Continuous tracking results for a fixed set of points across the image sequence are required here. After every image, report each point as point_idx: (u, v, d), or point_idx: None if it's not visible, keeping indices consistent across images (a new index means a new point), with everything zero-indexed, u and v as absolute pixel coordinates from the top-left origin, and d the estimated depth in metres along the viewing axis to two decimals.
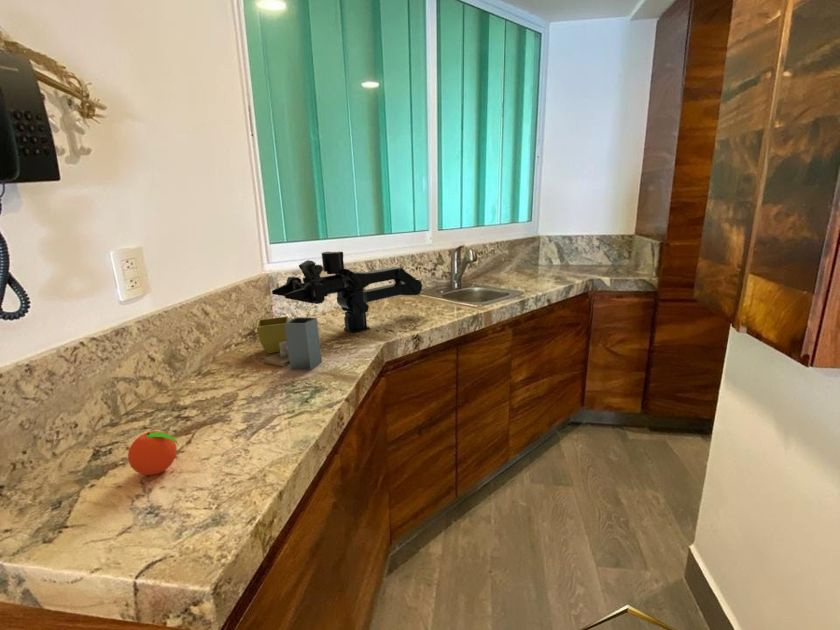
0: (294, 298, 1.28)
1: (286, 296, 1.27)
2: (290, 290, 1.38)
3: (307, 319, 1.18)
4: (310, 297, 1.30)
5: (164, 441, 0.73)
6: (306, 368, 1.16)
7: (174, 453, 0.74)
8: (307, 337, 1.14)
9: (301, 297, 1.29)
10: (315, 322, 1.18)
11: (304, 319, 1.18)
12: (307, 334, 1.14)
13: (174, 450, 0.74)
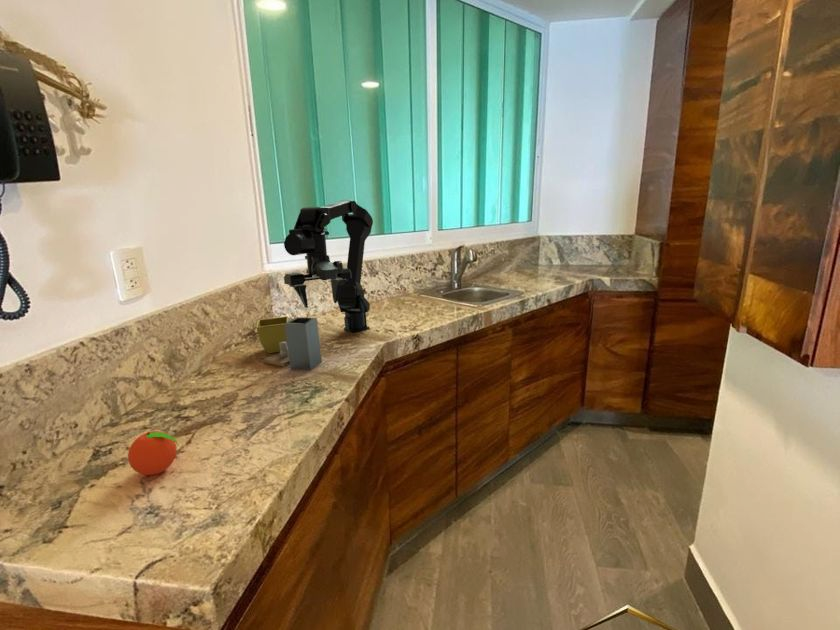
0: None
1: None
2: None
3: (307, 319, 1.18)
4: None
5: (164, 441, 0.73)
6: (306, 368, 1.16)
7: (174, 453, 0.74)
8: (307, 337, 1.14)
9: None
10: (315, 322, 1.18)
11: (304, 319, 1.18)
12: (307, 334, 1.14)
13: (174, 450, 0.74)
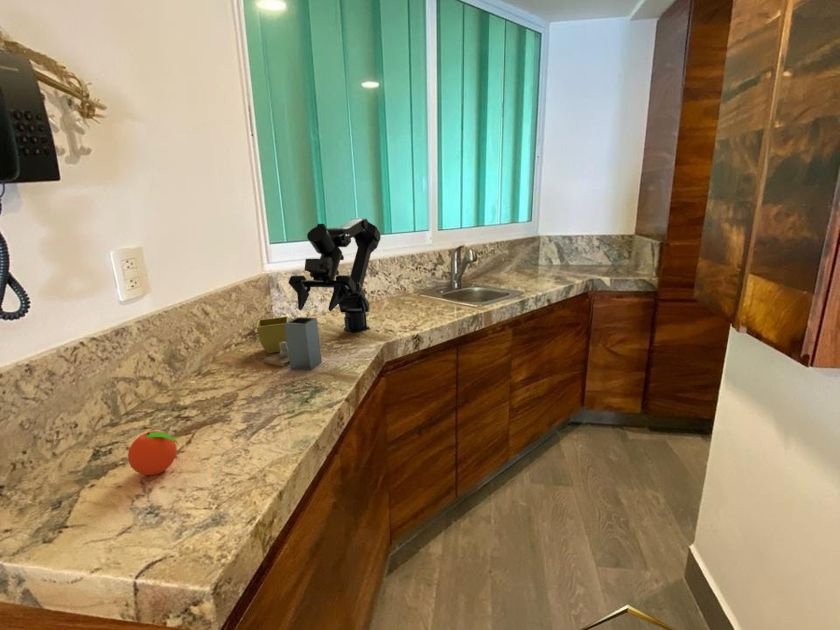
0: (336, 304, 1.23)
1: (330, 309, 1.22)
2: (305, 292, 1.27)
3: (307, 319, 1.18)
4: (345, 292, 1.25)
5: (164, 441, 0.73)
6: (306, 368, 1.16)
7: (174, 453, 0.74)
8: (307, 337, 1.14)
9: (339, 298, 1.24)
10: (315, 322, 1.18)
11: (304, 319, 1.18)
12: (307, 334, 1.14)
13: (174, 450, 0.74)
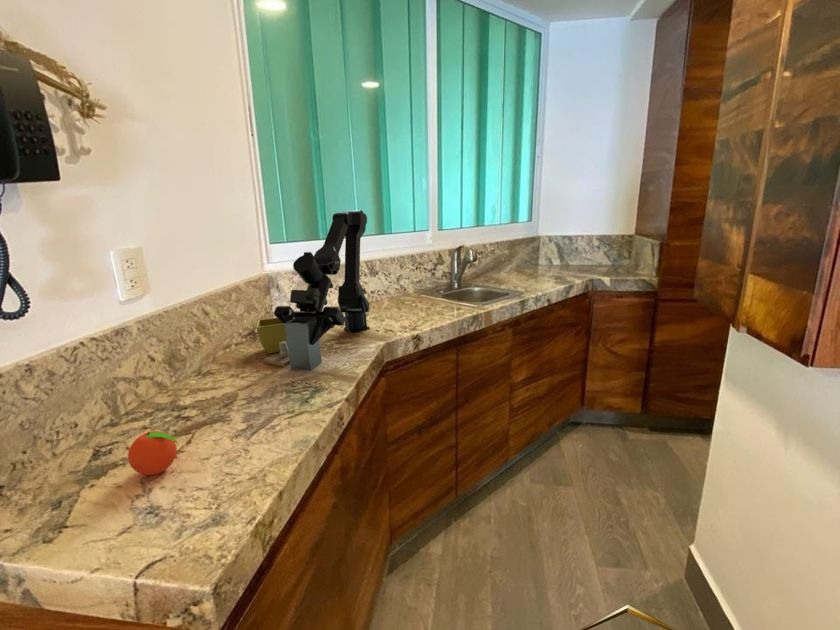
0: (318, 337, 1.17)
1: (313, 343, 1.16)
2: None
3: (307, 319, 1.18)
4: (329, 324, 1.19)
5: (164, 441, 0.73)
6: (306, 368, 1.16)
7: (174, 453, 0.74)
8: (307, 337, 1.14)
9: (322, 331, 1.18)
10: (315, 322, 1.17)
11: (304, 319, 1.18)
12: (307, 334, 1.14)
13: (174, 450, 0.74)
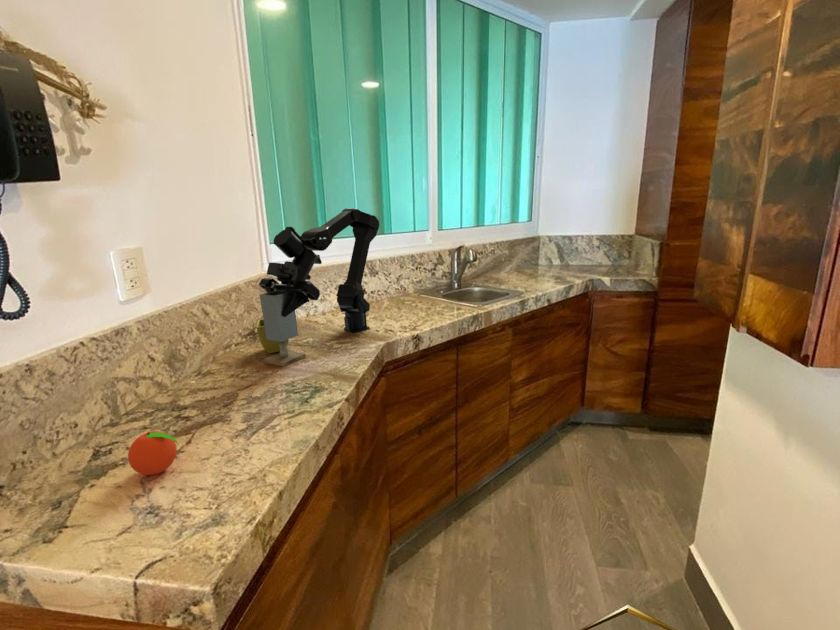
0: (291, 310, 1.20)
1: (284, 315, 1.19)
2: None
3: (284, 292, 1.21)
4: (303, 298, 1.21)
5: (164, 441, 0.73)
6: (278, 339, 1.20)
7: (174, 453, 0.74)
8: (278, 309, 1.17)
9: (296, 304, 1.20)
10: None
11: (282, 292, 1.22)
12: (278, 306, 1.17)
13: (174, 450, 0.74)
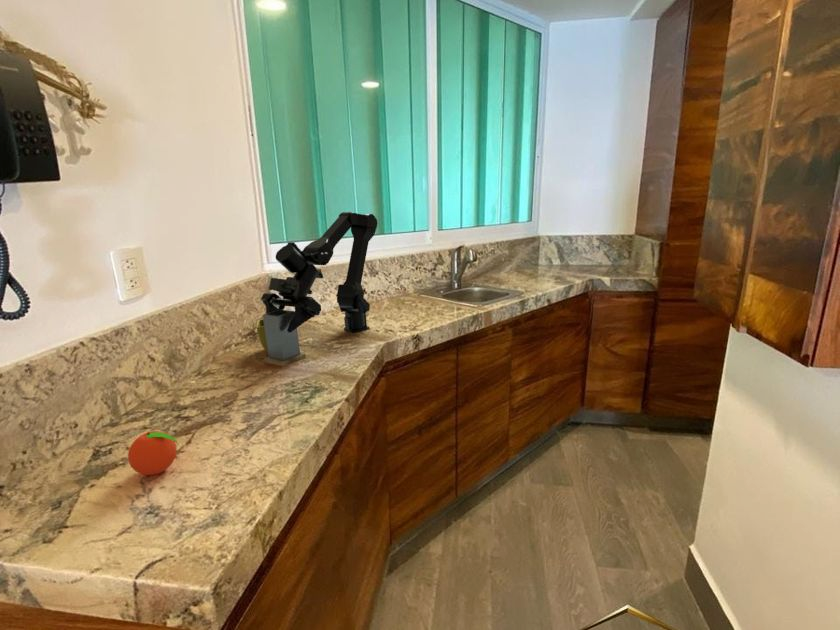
0: (297, 326, 1.20)
1: (290, 331, 1.19)
2: (275, 310, 1.27)
3: (286, 312, 1.23)
4: (308, 314, 1.21)
5: (164, 441, 0.73)
6: (280, 359, 1.21)
7: (174, 453, 0.74)
8: (280, 329, 1.19)
9: (301, 320, 1.21)
10: (292, 315, 1.22)
11: (284, 312, 1.23)
12: (280, 326, 1.19)
13: (174, 450, 0.74)
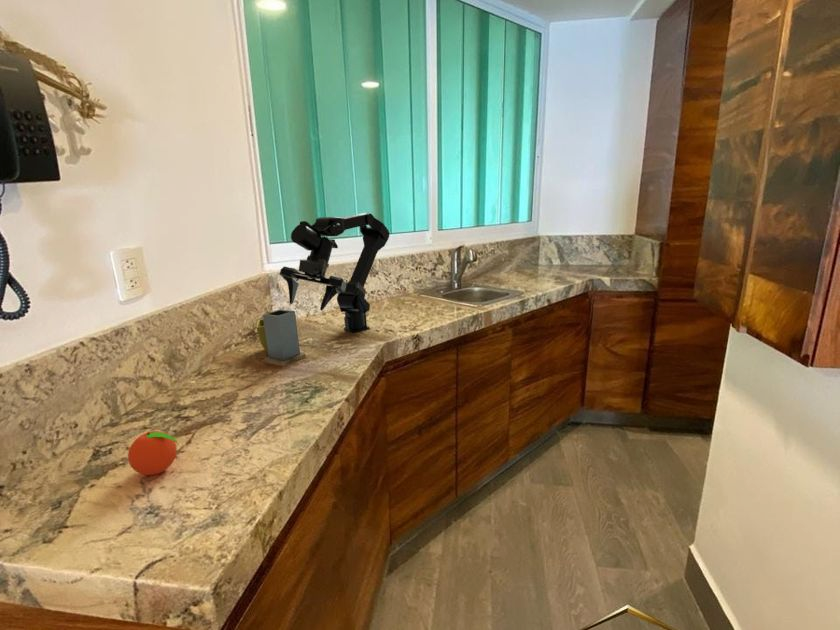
0: (326, 303, 1.30)
1: (322, 309, 1.29)
2: (295, 284, 1.31)
3: (286, 312, 1.23)
4: (336, 291, 1.31)
5: (164, 441, 0.73)
6: (280, 359, 1.21)
7: (174, 453, 0.74)
8: (280, 329, 1.19)
9: (329, 297, 1.31)
10: (292, 315, 1.22)
11: (284, 312, 1.23)
12: (280, 326, 1.19)
13: (174, 450, 0.74)
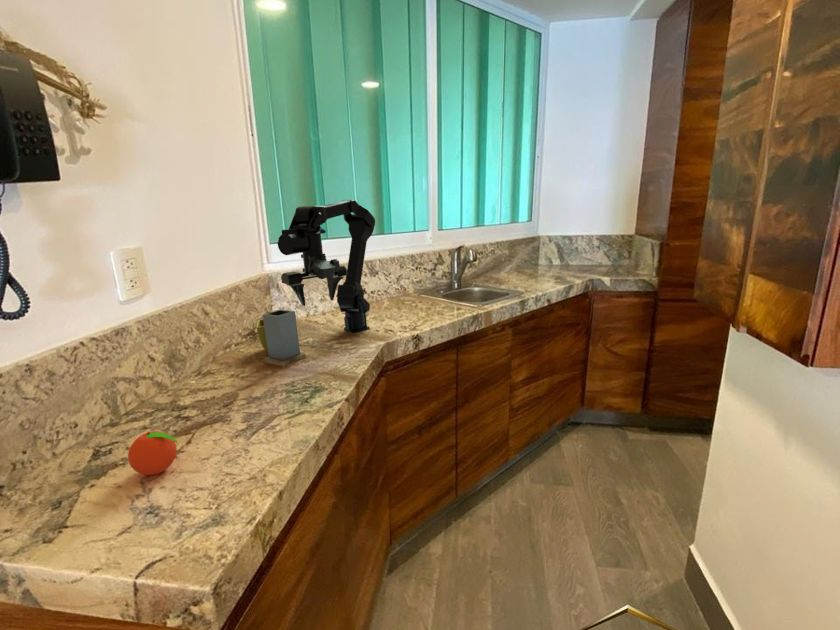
0: None
1: None
2: None
3: (286, 312, 1.23)
4: None
5: (164, 441, 0.73)
6: (280, 359, 1.21)
7: (174, 453, 0.74)
8: (280, 329, 1.19)
9: None
10: (292, 315, 1.22)
11: (284, 312, 1.23)
12: (280, 326, 1.19)
13: (174, 450, 0.74)
